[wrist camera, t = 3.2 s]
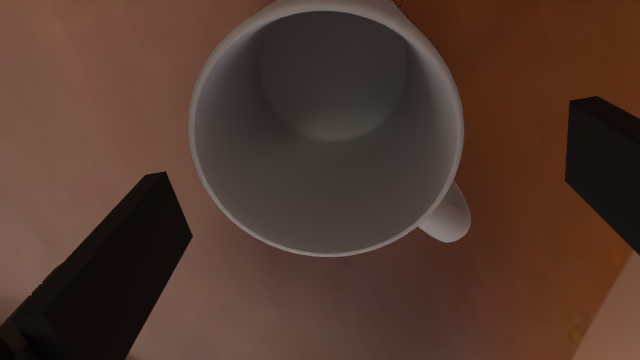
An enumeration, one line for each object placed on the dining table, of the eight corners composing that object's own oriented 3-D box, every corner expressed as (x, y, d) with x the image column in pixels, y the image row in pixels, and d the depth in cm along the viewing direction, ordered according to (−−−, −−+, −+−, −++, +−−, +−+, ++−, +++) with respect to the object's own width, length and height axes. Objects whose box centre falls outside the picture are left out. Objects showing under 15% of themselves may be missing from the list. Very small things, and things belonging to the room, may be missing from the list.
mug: (223, 72, 23) (131, 157, 13) (326, -65, 20) (305, -88, 10) (381, 201, 26) (401, 346, 16) (492, 101, 23) (601, 209, 13)
